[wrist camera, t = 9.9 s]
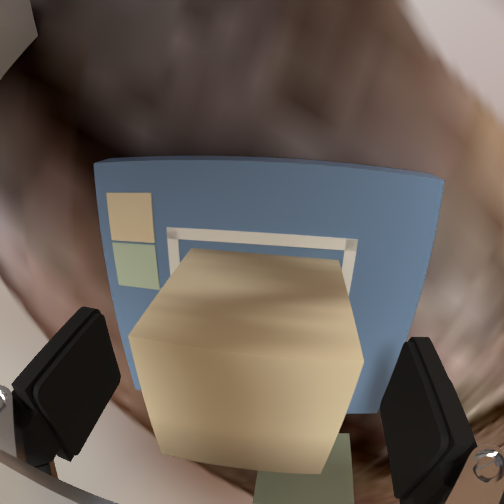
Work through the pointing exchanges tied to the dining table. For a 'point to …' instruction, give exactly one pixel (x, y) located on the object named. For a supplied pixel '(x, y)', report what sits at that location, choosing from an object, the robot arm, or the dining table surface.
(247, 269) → the pine block
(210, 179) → the board
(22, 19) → the die
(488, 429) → the dining table surface
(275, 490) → the green block
